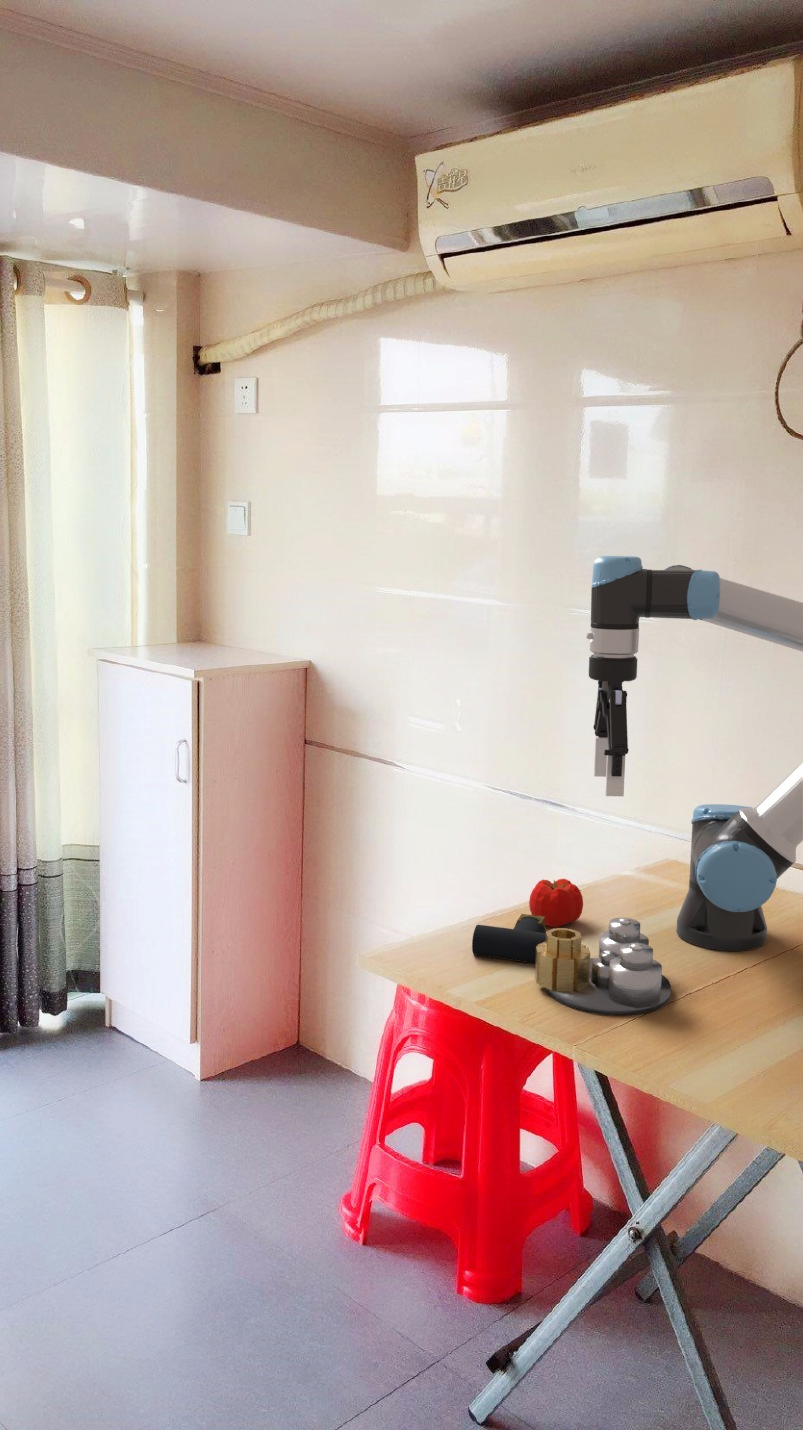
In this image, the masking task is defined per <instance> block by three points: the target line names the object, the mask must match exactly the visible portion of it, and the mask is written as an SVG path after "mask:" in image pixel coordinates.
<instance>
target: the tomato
mask: <svg viewBox="0 0 803 1430" xmlns="http://www.w3.org/2000/svg"><path fill="white" fill-rule="evenodd" d="M583 897H584V896H583V894H582V892H581V889H579V887H578V886H577V885H576V884H574V883H572V882H571V880H569V879H566V878H560V879H559V878H558V879H557V880H556V881H555V879H553V882H551V881H550V880H548V879H542V880H539V881H538V882H537V883H536V884H535V886H534V888H533V889H532V890H531V893H530V896H529V899H528V900H529V901H528V904H529V905H528V906H529V910H530V913H531V914H530V915H535V916H544V917H545V926H548V927H550V928H560V927H562V926H565V925H567V924H570V923H573V922H575V921H577V920H578V919H579V918H580V917H581V915H582V913H583V908H584V898H583Z"/></svg>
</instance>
